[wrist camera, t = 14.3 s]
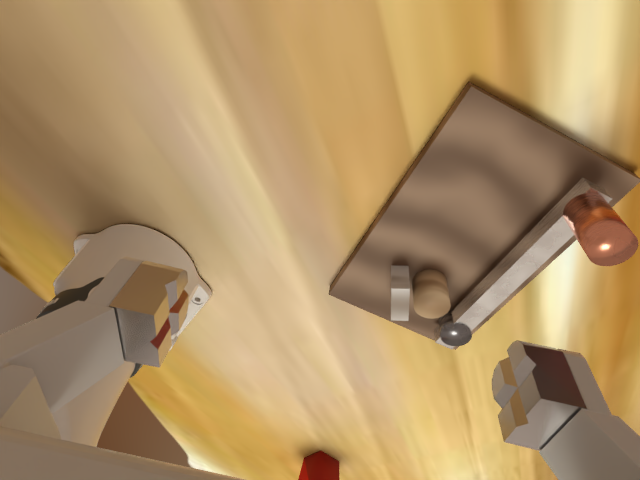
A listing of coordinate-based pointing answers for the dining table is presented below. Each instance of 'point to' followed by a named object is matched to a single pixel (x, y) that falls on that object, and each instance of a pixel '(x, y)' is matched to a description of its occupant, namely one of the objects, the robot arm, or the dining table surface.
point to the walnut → (430, 294)
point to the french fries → (319, 467)
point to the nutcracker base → (469, 206)
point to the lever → (544, 256)
